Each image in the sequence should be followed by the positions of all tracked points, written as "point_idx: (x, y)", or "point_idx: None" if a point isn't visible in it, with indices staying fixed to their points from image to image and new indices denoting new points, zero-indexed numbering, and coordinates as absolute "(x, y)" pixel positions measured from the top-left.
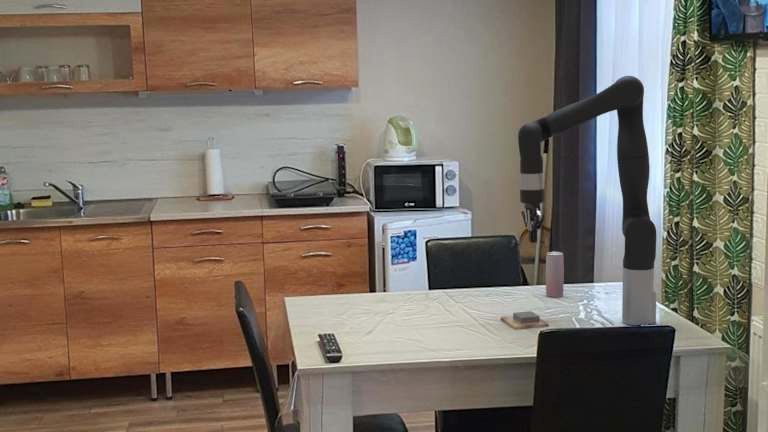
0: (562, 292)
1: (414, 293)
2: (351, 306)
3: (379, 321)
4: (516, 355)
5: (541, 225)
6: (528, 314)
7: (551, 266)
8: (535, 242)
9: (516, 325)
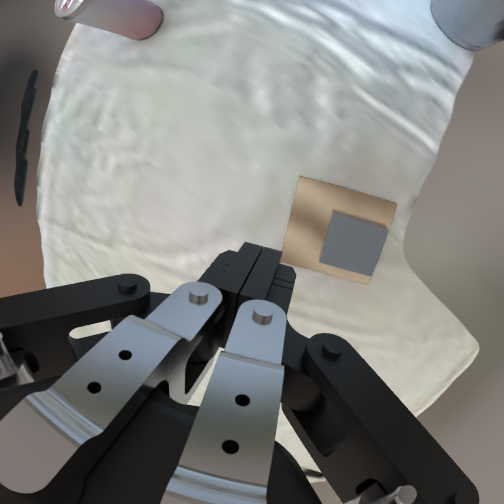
0: (157, 7)
1: (51, 267)
2: None
3: None
4: (468, 362)
5: (386, 385)
6: (357, 242)
7: (103, 14)
8: (280, 261)
9: (361, 275)
